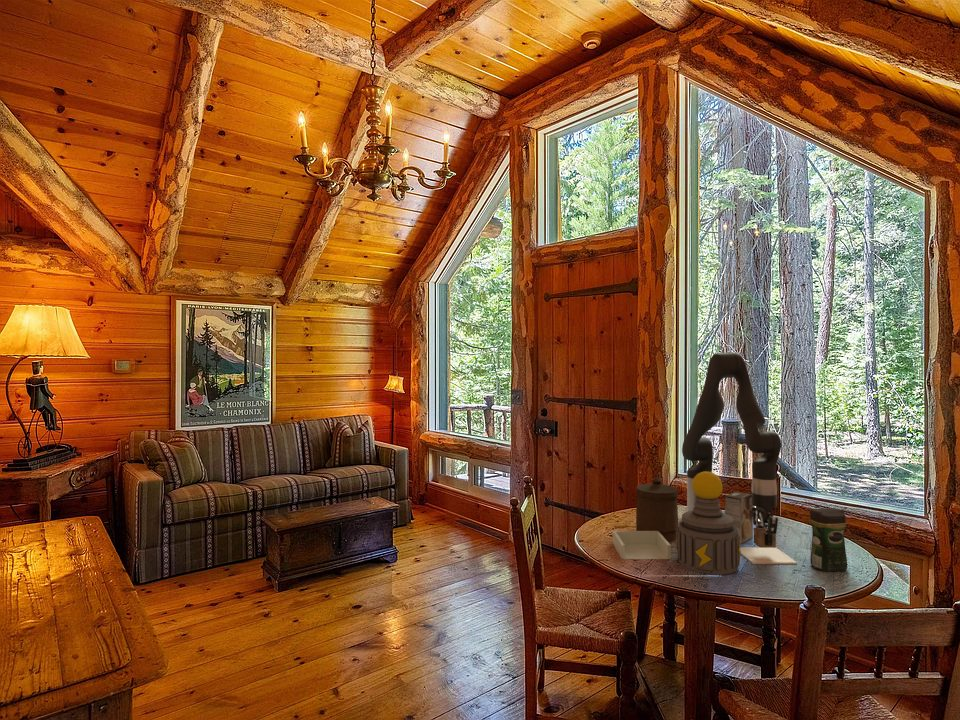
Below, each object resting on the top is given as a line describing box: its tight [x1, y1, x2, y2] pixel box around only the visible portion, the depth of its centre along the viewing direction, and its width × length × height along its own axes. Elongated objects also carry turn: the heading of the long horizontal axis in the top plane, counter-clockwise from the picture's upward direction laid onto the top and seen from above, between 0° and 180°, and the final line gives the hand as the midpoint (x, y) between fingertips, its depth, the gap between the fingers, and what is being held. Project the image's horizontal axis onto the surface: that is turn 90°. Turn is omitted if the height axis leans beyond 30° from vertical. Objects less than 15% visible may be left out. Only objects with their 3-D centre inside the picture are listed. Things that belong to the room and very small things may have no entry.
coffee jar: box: [809, 507, 848, 572], centre depth 177 cm, size 10×8×19 cm
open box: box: [612, 530, 672, 560], centre depth 193 cm, size 15×16×5 cm
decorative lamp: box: [675, 471, 741, 576], centre depth 180 cm, size 19×19×30 cm
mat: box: [740, 547, 798, 565], centre depth 188 cm, size 14×14×1 cm
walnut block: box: [753, 527, 777, 548], centre depth 188 cm, size 5×5×5 cm
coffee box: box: [724, 491, 754, 544], centre depth 206 cm, size 9×6×16 cm
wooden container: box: [635, 476, 679, 543], centre depth 209 cm, size 15×15×22 cm
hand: (764, 542), depth 188 cm, fingers closed on walnut block, 5 cm apart
